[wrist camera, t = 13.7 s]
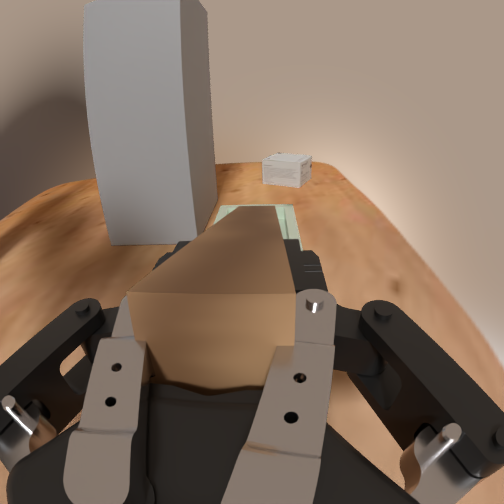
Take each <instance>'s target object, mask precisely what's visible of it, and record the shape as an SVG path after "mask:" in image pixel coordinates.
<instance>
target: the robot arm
mask: <svg viewBox="0 0 504 504" xmlns="http://www.w3.org/2000/svg"><path fill="white" fill-rule="evenodd" d="M283 241H284V245H285V249H286V253H287V257H288V261H289V266H290V270H291V274H292V278H293V283H294V287H295V292H296V311H295V341H294V346H277V347H276V350H275V353H274V357H273V360H272V363H271V367H270V370H269V373H268V377H267V380H266V383H265V386H264V390H243V391H237V392H232V393H226V394H219V395H213V396H205V395H201V394H198V393H194V392H191V391H188V390H185V389H182V388H179V387H176V386H173V385H163V384H155V383H149V382H150V378H152V377H154V376H156V374H155V371H154V368H153V364H152V361H151V357H150V354H149V350H148V346H147V343H146V341H139V340H135V337H134V333H133V328H132V322H131V317H130V312H129V306H128V300H127V295H126V296H125V297H124V298H123V299H122V301H121V304H120V306H119V307H114V308H109V309H103V310H102V308H101V305H100V303H99V301H98V300H96V299H92V298H88V299H83V300H80V301H78V302H76V303H74V304H73V305H71V306H70V307H69V308H68V309H66V310H65V311H64V312H63V313H61V314H60V315H59V316H58V317H57V318H55V319H54V320H53V321H52V322H50V323H49V324H48V325H47V326H46V327H44V328H43V329H42V330H41V331H39V332H38V333H37V334H36V335H35V336H34V337H32V338H31V339H30V340H29V341H28V342H26V343H25V344H24V345H23V346H22V347H21V348H20V349H18V350H17V351H16V352H15V353H14V354H13V355H12V356H10V357H9V358H8V359H7V360H6V361H5V362H4V363H3V364H1V365H0V460H1V461H2V463H3V464H4V466H5V467H6V469H7V470H8V471H9V476H8V480H7V486H6V492H7V501H8V504H455V503H457V502H458V501H459V500H460V499H461V498H462V497H463V496H464V495H465V494H466V493H468V492H469V491H470V490H471V489H472V488H473V487H474V486H476V485H477V484H479V483H480V482H482V481H483V480H485V479H486V478H488V477H489V476H490V475H492V474H493V473H495V472H496V471H497V470H499V469H500V468H502V467H503V466H504V412H503V411H502V410H501V409H500V408H499V407H498V406H497V405H496V404H495V403H494V401H493V400H492V399H491V398H490V397H489V396H488V395H487V394H486V393H485V392H484V391H483V390H482V389H481V388H480V387H479V385H478V384H477V383H476V382H475V381H474V380H473V379H472V378H471V377H470V376H469V375H468V374H467V373H466V372H465V371H464V370H463V369H462V368H461V367H460V366H459V365H458V364H457V363H456V362H455V361H454V360H453V359H452V358H451V357H450V356H449V355H448V354H447V353H446V352H445V351H444V350H443V349H442V348H441V347H440V346H439V345H438V344H437V343H436V342H435V341H434V340H433V339H432V338H431V337H430V336H428V335H427V334H426V333H425V332H424V331H423V330H422V329H421V328H420V327H419V326H418V325H417V324H416V323H415V322H414V321H413V320H412V319H410V318H409V317H408V316H407V315H406V314H405V313H404V312H403V311H402V310H401V309H400V308H399V307H397V306H396V305H394V304H393V303H390V302H388V301H383V300H374V301H370V302H368V303H366V304H365V305H364V306H363V307H362V310H361V311H359V310H353V309H348V308H345V307H342V306H340V305H338V304H337V303H336V299H335V298H334V296H333V295H331V294H330V293H328V289H327V286H326V282H325V278H324V274H323V272H322V267H321V264H320V260H319V257H318V256H317V255H316V254H315V253H314V252H313V251H312V250H308V251H301V248H300V243H299V239H283ZM190 242H191V241H179V242H178V243H177V245H176V247H175V249H174V251H173V252H169V253H166V254H165V255H164V256H162V257H161V258H160V259H159V260H158V262H157V263H156V265H155V267H154V268H153V270H154V269H156V268H157V267H158V266H159V265H161V264H162V263H163V262H165V261H166V260H167V259H169V258H170V257H171V256H172V255H174V254H175V253H176V252H178V251H179V250H180V249H182V248H183V247H184V246H186V245H187V244H188V243H190ZM153 270H152V271H153ZM79 345H81V347H82V348H83V350H84V352H85V354H86V355H85V356H84V357H83V358H82V359H81V360H80V361H79V362H78V363H77V364H76V365H75V366H74V367H73V368H72V369H71V370H70V371H69V372H68V373H66V374H65V375H64V376H62V375H61V373H60V364H61V363H62V361H63V360H64V359H65V358H66V357H67V356H68V355H70V354H71V353H72V352H73V351H74V350H75V349H76V348H77V347H78V346H79ZM333 369H335V370H340V371H345V372H347V374H348V376H349V378H350V379H351V380H352V382H353V383H354V384H355V386H356V387H357V388H358V390H359V391H360V393H361V394H362V395H363V397H364V398H365V399H366V401H367V402H368V403H369V405H370V406H371V408H372V409H373V410H374V412H375V413H376V414H377V416H378V417H379V418H380V420H381V421H382V423H383V424H384V425H385V427H386V428H387V429H388V431H389V432H390V433H391V435H392V436H393V438H394V439H395V440H396V442H397V443H398V444H399V446H400V447H401V449H402V450H403V451H404V452H403V453H402V455H401V458H400V470H401V472H402V475H403V477H404V480H405V489H404V490H403V489H402V488H401V487H400V486H398V485H397V484H396V483H395V482H394V481H392V480H391V479H390V478H389V477H388V476H386V475H385V474H384V473H383V472H382V471H380V470H379V469H378V468H377V467H376V466H375V465H373V464H372V463H371V462H370V461H369V460H368V459H366V458H365V457H364V456H363V455H362V454H361V453H360V452H358V451H357V450H356V449H355V448H354V447H353V446H352V445H351V444H350V443H348V442H347V441H346V440H345V439H344V438H343V437H342V436H341V435H340V434H339V433H338V432H336V431H335V430H334V429H333V428H332V427H331V426H330V425H329V424H328V423H327V422H326V421H327V414H328V406H329V399H330V391H331V382H332V373H333ZM81 410H82V414H81V419H80V421H79V422H77V423H76V424H74V425H73V426H71V427H70V428H68V429H67V430H65V431H64V432H62V433H61V434H59V433H60V432H61V431H62V430H63V429H64V428H65V427H66V426H67V425H68V424H69V423H70V422H71V420H72V419H73V418H74V417H75V416H76V415H77V414H78V413H79V412H80V411H81ZM58 434H59V435H58ZM57 435H58V436H57Z"/></svg>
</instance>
